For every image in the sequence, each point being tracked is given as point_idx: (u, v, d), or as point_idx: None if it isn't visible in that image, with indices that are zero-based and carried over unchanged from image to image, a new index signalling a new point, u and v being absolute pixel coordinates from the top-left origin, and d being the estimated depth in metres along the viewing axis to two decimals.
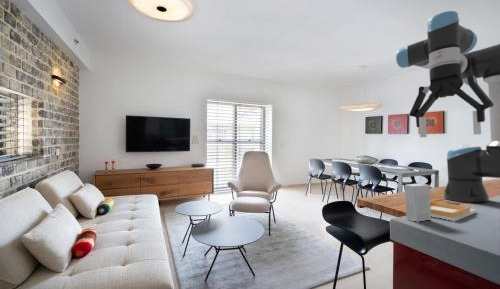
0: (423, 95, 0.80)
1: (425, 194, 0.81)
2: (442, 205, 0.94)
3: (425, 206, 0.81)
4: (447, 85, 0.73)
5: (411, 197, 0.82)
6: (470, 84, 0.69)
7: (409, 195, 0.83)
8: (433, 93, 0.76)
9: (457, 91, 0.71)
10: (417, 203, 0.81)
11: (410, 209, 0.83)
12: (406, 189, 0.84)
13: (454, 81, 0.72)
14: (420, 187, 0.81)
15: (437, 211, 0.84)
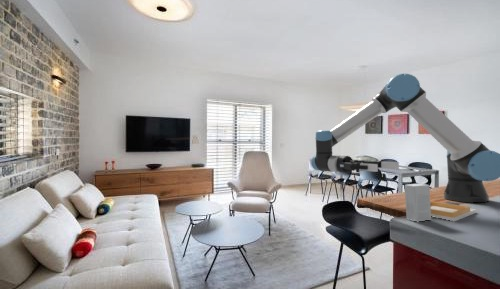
0: None
1: (425, 194, 0.81)
2: (442, 205, 0.94)
3: (425, 206, 0.81)
4: None
5: (411, 197, 0.82)
6: (345, 168, 1.01)
7: (409, 195, 0.83)
8: None
9: None
10: (417, 203, 0.81)
11: (410, 209, 0.83)
12: (406, 189, 0.84)
13: None
14: (420, 187, 0.81)
15: (437, 211, 0.84)
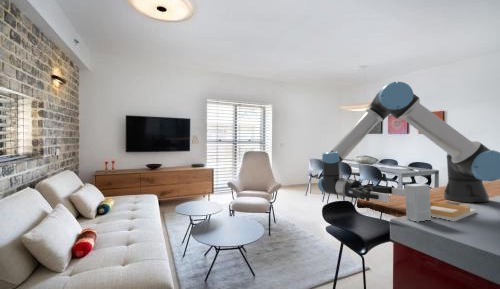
0: None
1: (425, 194, 0.81)
2: (442, 205, 0.94)
3: (426, 206, 0.81)
4: None
5: (411, 197, 0.82)
6: None
7: (409, 195, 0.83)
8: None
9: None
10: (417, 203, 0.81)
11: (410, 209, 0.83)
12: (406, 189, 0.84)
13: None
14: (420, 187, 0.81)
15: (437, 211, 0.84)
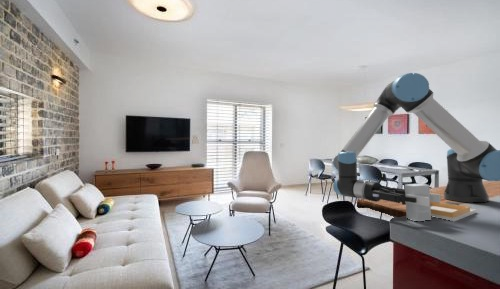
0: None
1: (425, 194, 0.81)
2: (442, 205, 0.94)
3: (425, 206, 0.81)
4: None
5: None
6: None
7: None
8: None
9: None
10: None
11: (410, 209, 0.83)
12: (406, 189, 0.84)
13: None
14: (420, 187, 0.81)
15: (437, 211, 0.84)
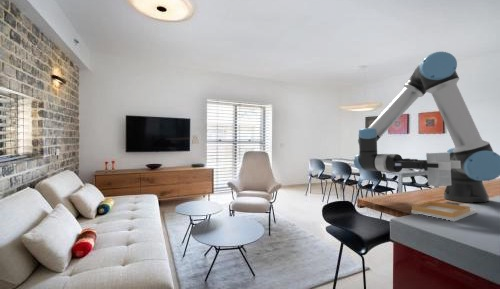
0: None
1: (446, 160, 0.88)
2: (442, 205, 0.94)
3: (446, 171, 0.88)
4: (403, 168, 0.99)
5: None
6: (402, 167, 0.95)
7: None
8: None
9: (409, 168, 0.96)
10: None
11: (431, 175, 0.89)
12: (428, 157, 0.90)
13: None
14: (441, 154, 0.88)
15: (437, 211, 0.84)
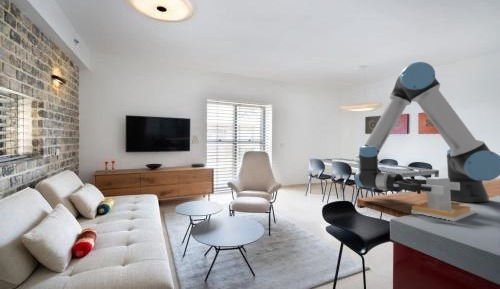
0: None
1: (446, 186, 0.88)
2: None
3: (446, 197, 0.87)
4: None
5: None
6: None
7: None
8: None
9: None
10: (439, 195, 0.87)
11: (431, 201, 0.89)
12: (427, 182, 0.90)
13: None
14: (441, 180, 0.87)
15: (437, 211, 0.84)
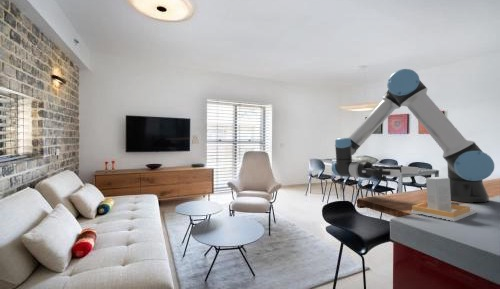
0: None
1: (446, 186, 0.88)
2: None
3: (446, 197, 0.87)
4: None
5: (433, 190, 0.88)
6: None
7: (430, 187, 0.89)
8: None
9: None
10: (439, 195, 0.87)
11: (431, 201, 0.89)
12: (427, 182, 0.90)
13: None
14: (441, 180, 0.87)
15: (437, 211, 0.84)
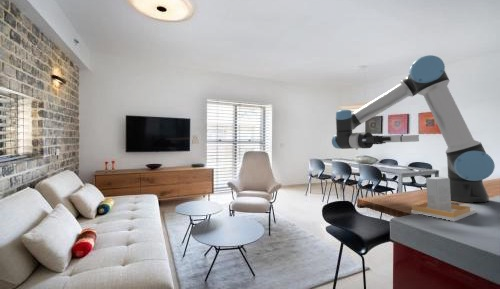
0: None
1: (446, 186, 0.88)
2: None
3: (446, 197, 0.87)
4: (372, 144, 1.10)
5: (433, 190, 0.88)
6: (367, 142, 1.07)
7: (430, 187, 0.89)
8: None
9: (374, 143, 1.07)
10: (439, 195, 0.87)
11: (431, 201, 0.89)
12: (427, 182, 0.90)
13: None
14: (441, 180, 0.87)
15: (437, 211, 0.84)
